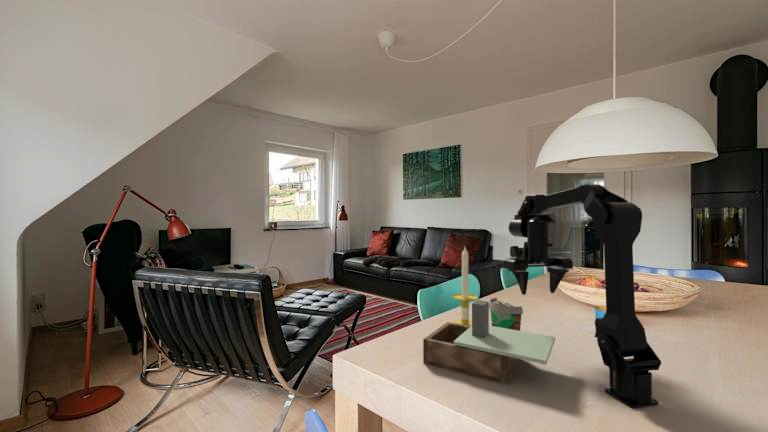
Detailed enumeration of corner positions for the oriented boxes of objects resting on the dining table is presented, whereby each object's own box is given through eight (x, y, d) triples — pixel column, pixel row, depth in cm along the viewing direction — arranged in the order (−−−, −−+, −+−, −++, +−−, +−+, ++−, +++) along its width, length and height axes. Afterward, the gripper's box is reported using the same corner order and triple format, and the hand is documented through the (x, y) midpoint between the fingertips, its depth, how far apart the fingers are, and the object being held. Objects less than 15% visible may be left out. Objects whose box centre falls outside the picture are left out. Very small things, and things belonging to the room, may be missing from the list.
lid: (555, 340, 83) (555, 304, 83) (546, 364, 69) (546, 322, 69) (474, 325, 94) (474, 294, 94) (453, 344, 80) (453, 307, 80)
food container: (479, 329, 109) (479, 298, 109) (495, 327, 111) (495, 297, 111) (506, 343, 97) (506, 308, 97) (523, 340, 99) (523, 306, 99)
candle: (482, 332, 107) (482, 247, 107) (450, 330, 108) (450, 246, 108) (478, 322, 117) (478, 244, 116) (449, 320, 118) (449, 244, 118)
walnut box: (520, 358, 87) (520, 335, 87) (505, 384, 74) (505, 357, 74) (447, 342, 98) (447, 321, 98) (423, 363, 85) (423, 339, 84)
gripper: (547, 236, 106) (547, 286, 106) (493, 237, 101) (493, 289, 102) (574, 239, 95) (574, 294, 95) (515, 240, 91) (515, 298, 91)
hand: (538, 293), depth 96 cm, fingers open, 9 cm apart
